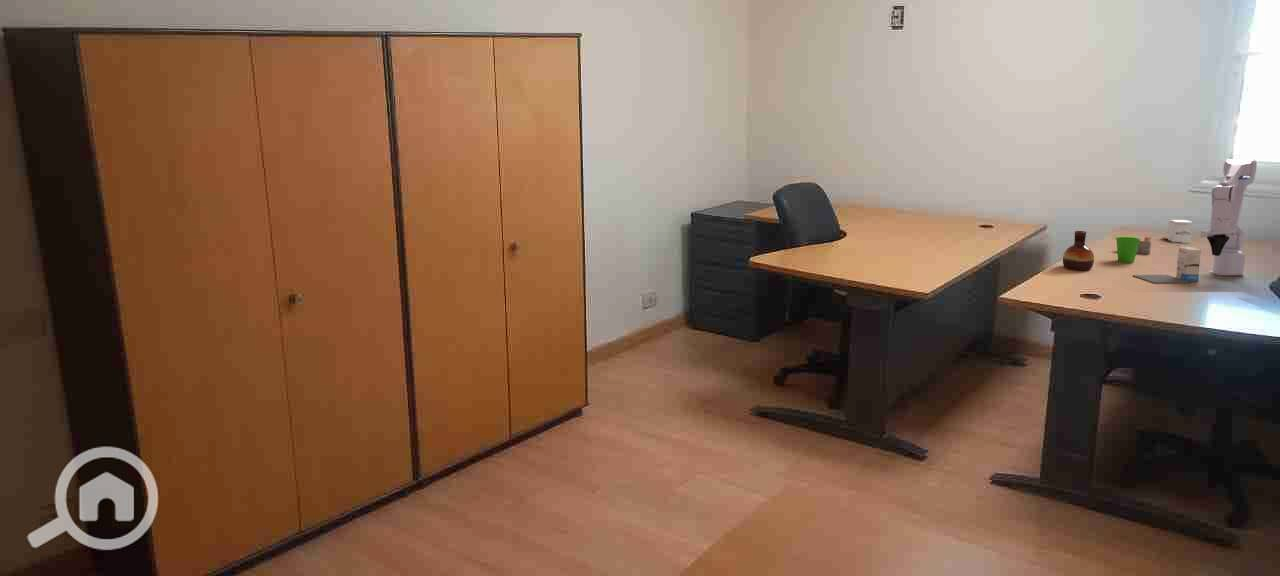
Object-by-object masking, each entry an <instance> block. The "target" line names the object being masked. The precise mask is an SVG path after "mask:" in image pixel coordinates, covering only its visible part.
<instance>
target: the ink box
mask: <svg viewBox="0 0 1280 576" xmlns="http://www.w3.org/2000/svg"><path fill="white" fill-rule="evenodd" d="M1201 251H1202V250H1201V249H1198V248H1196V247H1193V246H1179V247H1178V254H1177V264H1176V274H1175V275H1176V276H1175V277H1176V278H1179V279H1182V280H1185V281H1188V282H1199V277H1200V276H1199V275H1200V265H1201V264H1200V263H1201V253H1202V252H1201Z"/></svg>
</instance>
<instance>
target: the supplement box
mask: <svg viewBox="0 0 1280 576" xmlns="http://www.w3.org/2000/svg"><path fill="white" fill-rule="evenodd" d="M1193 224H1194V223H1193V221H1191V220H1187V219H1169V220H1168V225H1167V235H1166V237H1167V238H1166V240H1167V239H1168V240H1167V241H1169V240H1170V241H1169V242H1171V241H1172V242H1171V243H1173V242H1182V243H1181V244H1191V239H1192V233H1193V232H1192V231H1193Z"/></svg>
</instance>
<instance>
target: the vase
mask: <svg viewBox="0 0 1280 576" xmlns="http://www.w3.org/2000/svg"><path fill="white" fill-rule="evenodd" d="M1086 237H1087V231H1084V230H1075V231H1074V242H1073V244H1072V245H1070V246H1068V247H1067V248H1066V250H1065V251H1064V252H1063V255H1062V264H1063V267H1064V269H1067V270H1070V271H1076V272H1088V271H1090V270H1091V269H1092V268H1093V265H1094V263H1095V255H1094V252H1093V251H1092V250H1091V248H1090V247H1088V246H1087V245H1086Z"/></svg>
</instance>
